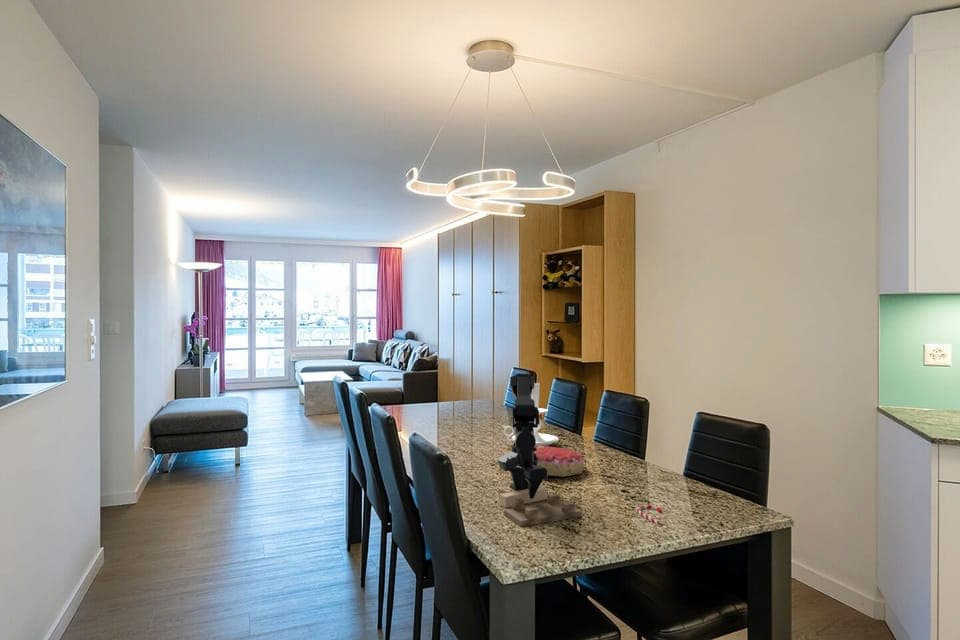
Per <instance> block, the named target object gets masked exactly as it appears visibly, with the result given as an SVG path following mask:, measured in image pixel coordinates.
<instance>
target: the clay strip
mask: <svg viewBox="0 0 960 640" xmlns="http://www.w3.org/2000/svg"><path fill="white" fill-rule="evenodd" d="M547 495H548V488H546V487H544V486H542V485H540V486H539V488H538V490H537V492H536V494H535V496H534V498H533V499H530V497H529V489H525V490H520V491H516V490H515V491H511V492H506V493H500V495H499V505H500V506H501V507H503V508H505V509H508V508H510V507H511V508H512V500H515V499H522V500H524V505H526V504H531V503H534V502H538V501H540V502H541V501H544V500H547Z"/></svg>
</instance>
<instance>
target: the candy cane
mask: <svg viewBox="0 0 960 640" xmlns="http://www.w3.org/2000/svg"><path fill="white" fill-rule="evenodd" d="M643 510H655V511H657V513H659V514H660V513H661V514H662V513H663V510H662V508H660V507H659V506H656V505H651V504H648V505H647V504H645V505H644V504H643V505H640V506H638V507H636V509H635V511H636V514H637V515H639V516H640V517H642V518H643V519H644V520H646V521H647V522H650V523H652V524H655V525H657V526H660V527H661V526H663V523H662V522H661V521H660V520H657V519H655V518H653V517H651V516H649V515H648V514H646V513H644V512H643Z"/></svg>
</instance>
